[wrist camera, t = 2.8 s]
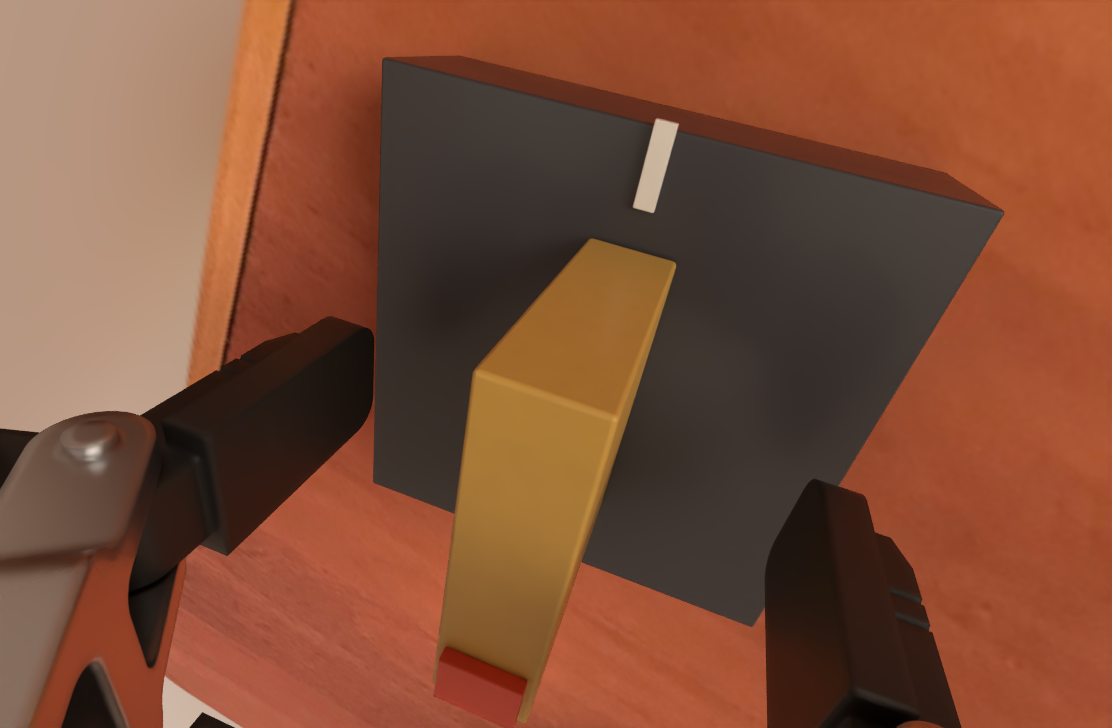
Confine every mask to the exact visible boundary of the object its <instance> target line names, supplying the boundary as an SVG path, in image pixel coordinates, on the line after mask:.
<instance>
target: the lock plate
mask: <svg viewBox="0 0 1112 728" xmlns="http://www.w3.org/2000/svg"><path fill="white" fill-rule="evenodd" d="M1003 215H1004V211H1003V210H1002V209H1000V208H999V207H997V206H996V205H994V204H993V203H991V202H989V201H988V200H986V199H985V198H983V197H982V196H980V195H979V194H977V193H976V192H974V191H973V190H971V189H970V188H968V187H967V186H965V185H964V184H962V183H960V182H959V181H957V180H956V179H954V178H953V177H951V176H950V175H948V174H947V173H944V172H940V171H935V170H931V169H927V168H923V167H919V166H915V165H910V164H906V163H902V162H898V161H894V160H890V159H886V158H881V157H877V156H873V155H869V154H865V153H861V152H857V151H852V150H848V149H844V148H840V147H836V146H832V145H827V144H823V143H819V142H815V141H811V140H807V139H803V138H798V137H794V136H790V135H786V134H782V133H778V132H774V131H769V130H765V129H761V128H757V127H753V126H749V125H744V124H740V123H736V122H732V121H728V120H724V119H720V118H715V117H711V116H707V115H703V114H699V113H695V112H691V111H686V110H682V109H678V108H674V107H670V106H666V105H661V104H657V103H653V102H649V101H645V100H641V99H637V98H632V97H628V96H624V95H620V94H616V93H612V92H608V91H603V90H599V89H595V88H591V87H587V86H583V85H578V84H574V83H570V82H566V81H562V80H558V79H554V78H549V77H545V76H541V75H537V74H533V73H529V72H525V71H520V70H516V69H512V68H508V67H504V66H500V65H495V64H491V63H487V62H483V61H479V60H475V59H471V58H466V57H462V56H429V57H386V58H383V60H382V103H381V148H380V194H379V239H378V285H377V331H376V376H375V422H374V468H373V482H374V483H376V484H378V485H381V486H384V487H386V488H389V489H391V490H394V491H397V492H399V493H402V494H405V495H407V496H410V497H412V498H415V499H418V500H420V501H423V502H425V503H428V504H431V505H433V506H436V507H439V508H441V509H444V510H446V511H449V512H452V513H454V514H455V506H456V499H457V491H458V483H459V475H460V468H461V460H462V452H463V444H464V437H465V429H466V421H467V413H468V406H469V398H470V390H471V382H472V375H473V371H474V370H475V368H476V367H477V366H478V365H479V364H480V362H481V361H482V360H483V359H484V358H485V357H486V356H487V355H488V353H489V352H490V351H491V350H492V349H493V348H494V347H495V345H496V344H497V343H498V342H499V341H500V340H501V339H502V338H503V336H504V335H505V334H506V333H507V332H508V331H509V330H510V328H511V327H512V326H513V325H514V324H515V323H516V322H517V320H518V319H519V318H520V317H521V316H522V315H523V314H524V313H525V311H526V310H527V309H528V308H529V307H530V306H531V305H532V303H533V302H534V301H535V300H536V299H537V298H538V297H539V295H540V294H541V293H542V292H543V291H544V290H545V289H546V288H547V286H548V285H549V284H550V283H551V282H552V281H553V280H554V278H555V277H556V276H557V275H558V274H559V273H560V272H561V271H562V269H563V268H564V267H565V266H566V265H567V264H568V263H569V261H570V260H571V259H572V258H573V257H574V256H575V255H576V253H577V252H578V251H579V250H580V249H581V248H582V247H583V246H584V244H585V243H586V242H587V241H588V240H589V239H592V238H593V239H596V240H600V241H603V242H607V243H610V244H614V245H617V246H621V247H624V248H628V249H631V250H635V251H638V252H642V253H645V254H649V255H652V256H656V257H659V258H663V259H666V260H670V261H673V262H675V263H676V269H675V272H674V276H673V279H672V282H671V285H670V288H669V291H668V295H667V298H666V301H665V304H664V307H663V310H662V313H661V317H660V320H659V323H658V326H657V329H656V332H655V336H654V339H653V342H652V345H651V348H650V351H649V355H648V358H647V361H646V364H645V367H644V370H643V373H642V377H641V380H640V383H639V386H638V389H637V392H636V396H635V399H634V402H633V405H632V408H631V411H630V415H629V418H628V421H627V424H626V427H625V430H624V433H623V437H622V440H621V443H620V446H619V449H618V452H617V456H616V459H615V462H614V465H613V468H612V471H611V475H610V478H609V481H608V484H607V487H606V490H605V493H604V497H603V500H602V503H601V506H600V509H599V512H598V515H597V518H596V521H595V524H594V527H593V530H592V533H591V535H590V538H589V541H588V544H587V547H586V550H585V553H584V556H583V559H582V563H585V564H588V565H590V566H593V567H596V568H598V569H601V570H603V571H606V572H609V573H611V574H614V575H617V576H619V577H622V578H624V579H627V580H630V581H632V582H635V583H637V584H640V585H643V586H645V587H648V588H651V589H653V590H656V591H658V592H661V593H664V594H666V595H669V596H671V597H674V598H677V599H679V600H682V601H685V602H687V603H690V604H692V605H695V606H698V607H700V608H703V609H705V610H708V611H711V612H713V613H716V614H719V615H721V616H724V617H726V618H729V619H732V620H734V621H737V622H740V623H742V624H745V625H747V626H750V627H753V626H754V624H755V622H756V621H757V619H758V617H759V616H760V614H761V612H762V611H763V609H764V608H765V570H766V564H767V560H768V556H769V553H770V550H771V548H772V545H773V543H774V541H775V539H776V537H777V536H778V534H779V532H780V530H781V529H782V527H783V525H784V523H785V522H786V520H787V518H788V516H789V515H790V513H791V511H792V509H793V507H794V506H795V504H796V502H797V500H798V499H799V497H800V495H801V493H802V492H803V490H804V488H805V487H806V485H807V484H808V483H809V482H810V481H811V480H812V479H817V480H820V481H823V482H826V483H829V484H832V485H835V486H839V484H840V483H841V481H842V479H843V478H844V476H845V475H846V473H847V471H848V470H849V468H850V466H851V465H852V463H853V461H854V460H855V458H856V456H857V455H858V453H859V452H860V450H861V448H862V447H863V445H864V443H865V442H866V440H867V438H868V437H869V435H870V433H871V432H872V430H873V429H874V427H875V425H876V424H877V422H878V420H879V419H880V417H881V415H882V414H883V412H884V410H885V409H886V407H887V406H888V404H889V402H890V401H891V399H892V397H893V396H894V394H895V392H896V391H897V389H898V387H899V386H900V384H901V383H902V381H903V379H904V378H905V376H906V374H907V373H908V371H909V369H910V368H911V366H912V364H913V363H914V361H915V360H916V358H917V356H918V355H919V353H920V351H921V350H922V348H923V346H924V345H925V343H926V341H927V340H928V338H929V337H930V335H931V333H932V332H933V330H934V328H935V327H936V325H937V323H938V322H939V320H940V318H941V317H942V315H943V314H944V312H945V310H946V309H947V307H948V305H949V304H950V302H951V300H952V299H953V297H954V295H955V294H956V292H957V291H958V289H959V287H960V286H961V284H962V282H963V281H964V279H965V277H966V276H967V274H968V272H969V271H970V269H971V268H972V266H973V264H974V263H975V261H976V259H977V258H978V256H979V254H980V253H981V251H982V250H983V248H984V246H985V245H986V243H987V241H988V240H989V238H990V236H991V235H992V233H993V231H994V230H995V228H996V227H997V225H998V223H999V222H1000V220H1001V218H1002V217H1003Z"/></svg>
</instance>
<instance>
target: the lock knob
mask: <svg viewBox="0 0 1112 728" xmlns="http://www.w3.org/2000/svg"><path fill="white" fill-rule="evenodd" d="M675 269H676V263H675V262H673V261H670V260H666V259H663V258H659V257H656V256H652V255H649V254H645V253H642V252H638V251H635V250H631V249H628V248H624V247H621V246H617V245H614V244H610V243H607V242H603V241H600V240H596V239H593V238H592V239H589V240H588V241H587V242H586V243H585V244H584V246H583V247H582V248H581V249H580V250H579V251H578V252H577V253H576V255H575V256H574V257H573V258H572V259H571V260H570V261H569V263H568V264H567V265H566V266H565V267H564V268H563V269H562V271H561V272H560V273H559V274H558V275H557V276H556V277H555V278H554V280H553V281H552V282H551V283H550V284H549V285H548V286H547V288H546V289H545V290H544V291H543V292H542V293H541V294H540V295H539V297H538V298H537V299H536V300H535V301H534V302H533V303H532V305H531V306H530V307H529V308H528V309H527V310H526V311H525V313H524V314H523V315H522V316H521V317H520V318H519V319H518V320H517V322H516V323H515V324H514V325H513V326H512V327H511V328H510V330H509V331H508V332H507V333H506V334H505V335H504V336H503V338H502V339H501V340H500V341H499V342H498V343H497V344H496V345H495V347H494V348H493V349H492V350H491V351H490V352H489V353H488V355H487V356H486V357H485V358H484V359H483V360H482V361H481V362H480V364H479V365H478V366H477V367H476V368H475V370H474V371H473V375H472V382H471V390H470V398H469V406H468V413H467V421H466V429H465V437H464V444H463V452H462V460H461V468H460V475H459V483H458V491H457V499H456V506H455V514H454V522H453V529H452V537H451V545H450V553H449V560H448V568H447V576H446V584H445V591H444V599H443V607H442V615H441V622H440V630H439V638H438V646H437V653H436V661H435V669H434V677H433V683H434V684H435V690H434V696H435V697H436V698H439V699H441V700H443V701H446V702H448V703H450V704H452V705H455V706H457V707H459V708H461V709H464V710H466V711H468V712H470V713H473V714H475V715H477V716H480V717H482V718H484V719H486V720H489V721H491V722H493V723H495V724H498V725H500V726H502V727H505V728H514V726H515V723H516V721H519V722H521V723H525V722H526V721H527V720H528V717H529V714H530V711H531V708H532V705H533V702H534V700H535V697H536V694H537V691H538V688H539V685H540V682H541V679H542V676H543V673H544V670H545V667H546V664H547V661H548V658H549V656H550V653H551V650H552V647H553V644H554V641H555V638H556V635H557V632H558V629H559V626H560V623H561V620H562V617H563V615H564V612H565V609H566V606H567V603H568V600H569V597H570V594H571V591H572V588H573V585H574V582H575V579H576V576H577V574H578V571H579V568H580V565H581V562H582V559H583V556H584V553H585V550H586V547H587V544H588V541H589V538H590V535H591V533H592V530H593V527H594V524H595V521H596V518H597V515H598V512H599V509H600V506H601V503H602V500H603V497H604V493H605V490H606V487H607V484H608V481H609V478H610V475H611V471H612V468H613V465H614V462H615V459H616V456H617V452H618V449H619V446H620V443H621V440H622V437H623V433H624V430H625V427H626V424H627V421H628V418H629V415H630V411H631V408H632V405H633V402H634V399H635V396H636V392H637V389H638V386H639V383H640V380H641V377H642V373H643V370H644V367H645V364H646V361H647V358H648V355H649V351H650V348H651V345H652V342H653V339H654V336H655V332H656V329H657V326H658V323H659V320H660V317H661V313H662V310H663V307H664V304H665V301H666V298H667V295H668V291H669V288H670V285H671V282H672V279H673V276H674V272H675Z"/></svg>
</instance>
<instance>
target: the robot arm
mask: <svg viewBox="0 0 1112 728" xmlns="http://www.w3.org/2000/svg"><path fill="white" fill-rule="evenodd" d="M373 374H374V336H373V333H372V331H371V330H370V329H368V328H365V327H362V326H359V325H356V324H353V323H350V322H347V321H344V320H341V319H338V318H335V317H331V316H329V317H326V318H324V319H322V320H320V321H319V322H317V323H316V324H314V325H312V326H311V327H309V328H308V329H306V330H304V331H303V332H301V333H300V334H298V333H292V334H289V335H285V336H282V337H279V338H275V339H272V340H268V341H265V342H263V343H261V344H260V345H258V346H256V347H255V348H253V349H251V350H250V351H248V352H246V353H245V354H243V355H241V358H240V359H237V358H236V359H234V360H233V361H231V362H229V363H228V364H226V365H224V366H223V367H221V370H220V371H214V372H213V373H211V374H209V375H208V376H206V377H204V378H203V379H201V380H199V381H197V382H196V383H194V384H192V385H191V386H189V387H187V388H186V389H184V390H182V391H181V392H179V393H177V394H176V395H174V396H172V397H171V398H169V399H167V400H166V401H164V402H162V403H160V404H159V405H157V406H155V407H154V408H152V409H150V410H149V411H147V412H145V413H144V414H142V415H140V416H139V415H136V414H133V413H128V412H119V411H105V412H94V413H88V414H83V415H79V416H75V417H72V418H69V419H66V420H63V421H61V422H59V423H56V424H54V425H52V426H50V427H48V428H47V429H45V430H43V431H42V432H40V433H38V432H29V431H19V430H9V429H0V728H163V709H162V692H163V683H164V676H165V671H166V667H167V662H168V657H169V652H170V647H171V642H172V638H173V633H174V628H175V623H176V618H177V613H178V608H179V604H180V599H181V594H182V589H183V584H184V579H185V574H186V560H185V557H186V556H187V555H188V554H190V553H191V552H192V551H193V550H194V549H195V548H196V547H197V546H199V545H202V546H205V547H207V548H209V549H212V550H214V551H217V552H219V553H221V554H224V555H226V556H228V555H229V554H230V553H231V552H232V551H233V550H234V549H235V548H236V547H237V546H238V545H239V544H240V543H242V542H243V541H244V540H245V539H246V538H247V537H248V536H249V535H250V534H251V533H252V532H253V531H254V530H255V529H256V528H257V527H258V526H259V525H260V524H261V523H262V522H263V521H264V520H265V519H267V518H268V517H269V516H270V515H271V514H272V513H273V512H274V511H275V510H276V509H277V508H278V507H279V506H280V505H281V504H282V503H283V502H284V501H285V500H286V499H287V498H288V497H289V496H291V495H292V494H293V493H294V492H295V491H296V490H297V489H298V488H299V487H300V486H301V485H302V484H303V483H304V482H305V481H306V480H307V479H308V478H309V477H310V476H311V475H312V474H313V473H314V472H316V471H317V470H318V469H319V468H320V467H321V466H322V465H323V464H324V463H325V462H326V461H327V460H328V459H329V458H330V457H331V456H332V455H333V454H334V453H335V452H336V451H337V450H338V449H339V448H341V447H342V446H343V445H344V444H345V443H346V442H347V441H348V440H349V439H350V438H351V437H352V436H353V435H354V434H355V433H356V432H357V431H358V430H359V429H360V428H361V427H362V425H363V424H364V422H365V421H366V419H367V417H368V415H369V412H370V409H371V406H372V401H373ZM921 601H922V597H921V594H920V591H919V587H918V584H917V581H916V578H915V574H914V571H913V568H912V567H911V566H910V564H909V563H908V561H907V560H906V559H905V557H904V556H903V554H902V553H901V552H900V550H899V549H898V547H897V546H896V545H895V543H894V542H893V540H892V539H891V538H889V537H886V536H883V535H881V534H878V533H875V531H874V527H873V523H872V519H871V515H870V511H869V507H868V503H867V500H866V498H865V496H864V495H862V494H859V493H856V492H853V491H850V490H847V489H844V488H841V487H838V486H835V485H832V484H829V483H826V482H823V481H820V480H817V479H812V480H811V481H810V482H809V483H808V484H807V485H806V487H805V488H804V490H803V492H802V493H801V495H800V497H799V499H798V500H797V502H796V504H795V506H794V507H793V509H792V511H791V513H790V515H789V516H788V518H787V520H786V522H785V523H784V525H783V527H782V529H781V530H780V532H779V534H778V536H777V537H776V539H775V541H774V543H773V545H772V548H771V550H770V553H769V556H768V560H767V564H766V570H765V629H766V680H767V728H961V725H960V721H959V718H958V715H957V711H956V708H955V705H954V702H953V698H952V695H951V692H950V689H949V685H948V682H947V679H946V676H945V672H944V669H943V666H942V662H941V659H940V656H939V653H938V649H937V646H936V643H935V640H934V636H933V633H932V632H929V627H930V623H929V620H928V617H927V613H926V610H925V607H924V606H923V605H921ZM190 728H234V727H232V726H230V725H228V724H226V723H224V722H222V721H220V720H218V719H215V718H213V717H211V716H209V715H207V714H205V713H201V715H200V716H199V717H198V718H197V719H196V721H195V722H194V723H193V724H192V725H191V726H190Z"/></svg>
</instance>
